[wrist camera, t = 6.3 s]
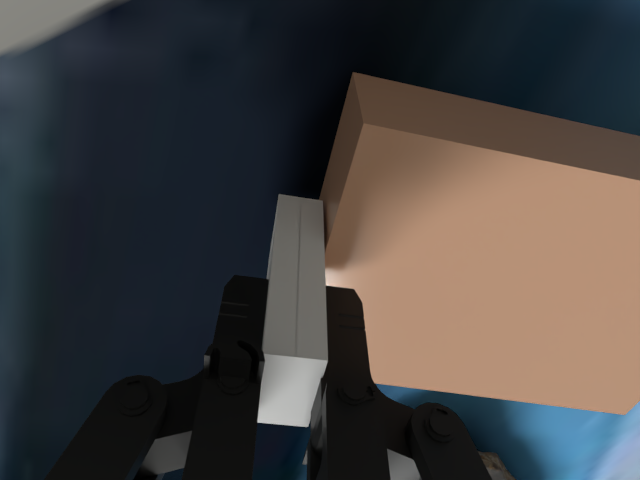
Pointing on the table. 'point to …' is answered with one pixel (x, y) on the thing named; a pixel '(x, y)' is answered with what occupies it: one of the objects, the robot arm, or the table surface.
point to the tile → (487, 246)
